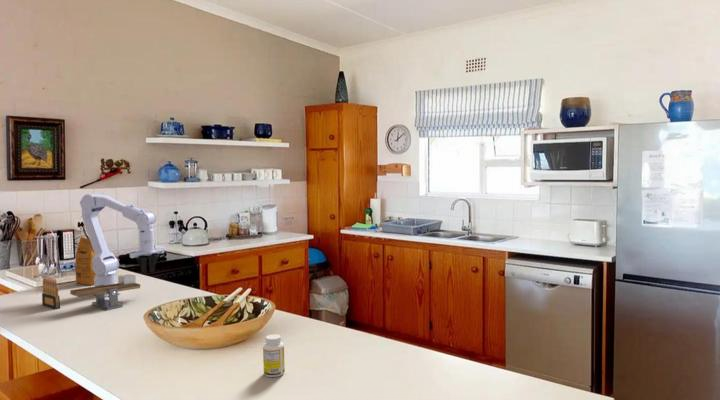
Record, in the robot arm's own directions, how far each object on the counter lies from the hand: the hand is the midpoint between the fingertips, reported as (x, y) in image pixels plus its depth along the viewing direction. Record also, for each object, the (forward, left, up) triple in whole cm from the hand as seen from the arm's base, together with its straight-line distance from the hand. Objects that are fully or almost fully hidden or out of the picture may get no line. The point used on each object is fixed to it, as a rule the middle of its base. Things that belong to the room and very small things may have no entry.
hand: (148, 272), depth 222 cm
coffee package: (-47, -3, -11) cm, 48 cm away
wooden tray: (0, -18, -4) cm, 19 cm away
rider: (-1, -9, -4) cm, 10 cm away
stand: (0, -18, -10) cm, 21 cm away
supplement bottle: (+104, -24, -11) cm, 107 cm away
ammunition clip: (-17, -32, -11) cm, 38 cm away
